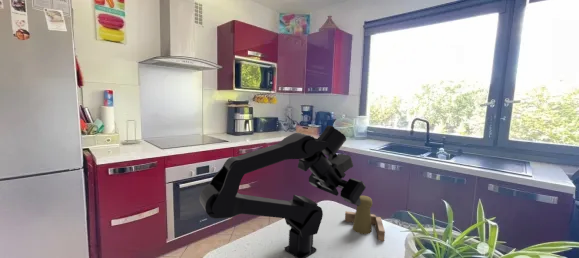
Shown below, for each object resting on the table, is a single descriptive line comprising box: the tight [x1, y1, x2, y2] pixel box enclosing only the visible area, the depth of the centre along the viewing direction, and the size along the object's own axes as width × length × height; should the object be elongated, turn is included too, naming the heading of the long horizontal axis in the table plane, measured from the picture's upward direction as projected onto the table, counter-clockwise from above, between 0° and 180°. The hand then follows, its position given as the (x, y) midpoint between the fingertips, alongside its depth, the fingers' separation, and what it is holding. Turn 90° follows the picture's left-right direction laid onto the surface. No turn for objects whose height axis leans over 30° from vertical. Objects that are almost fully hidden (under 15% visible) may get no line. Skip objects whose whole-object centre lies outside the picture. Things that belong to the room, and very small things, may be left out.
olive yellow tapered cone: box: [352, 195, 373, 235], centre depth 84 cm, size 6×6×11 cm
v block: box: [344, 210, 386, 242], centre depth 87 cm, size 8×16×3 cm, turn 33°
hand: (348, 199), depth 80 cm, fingers open, 9 cm apart
